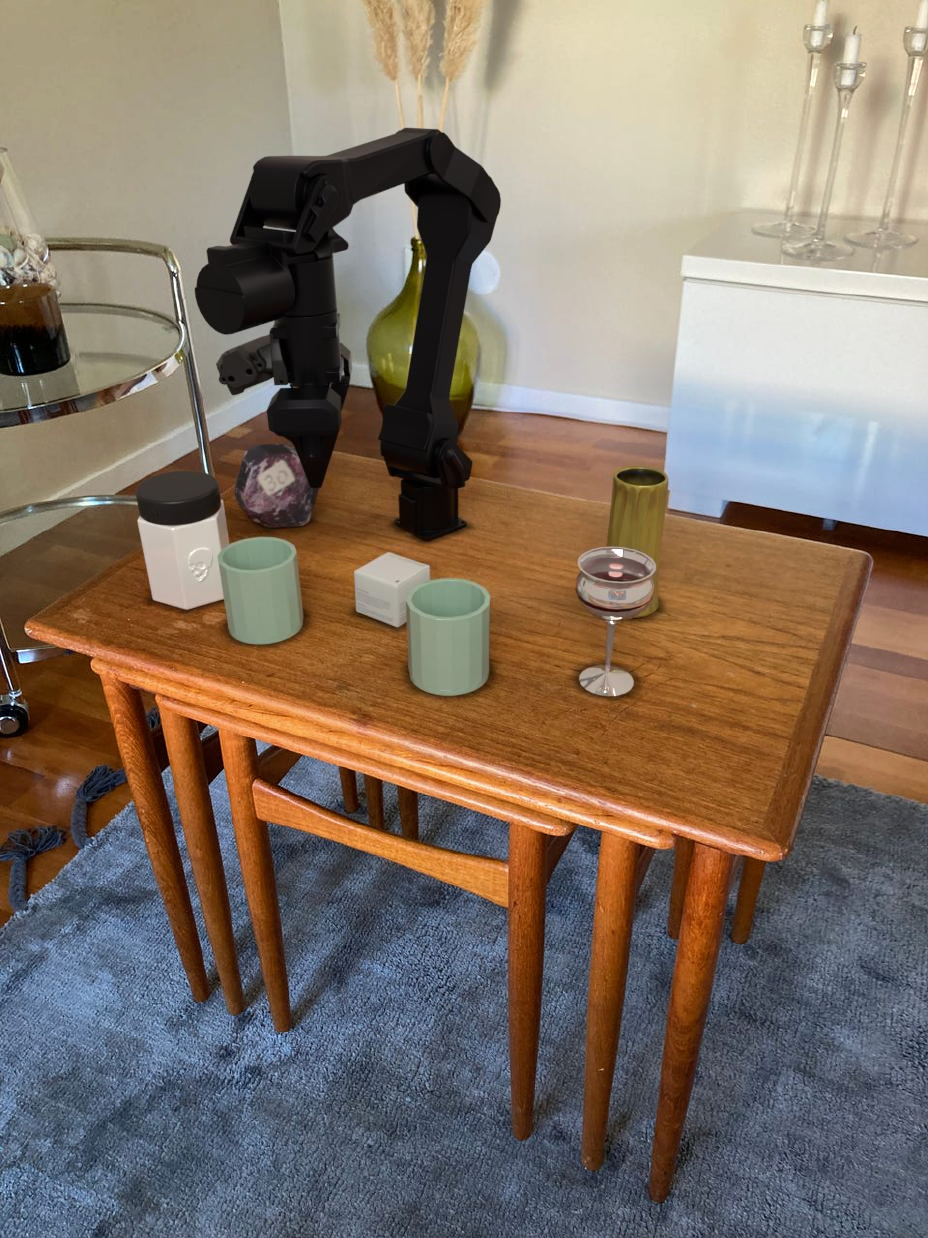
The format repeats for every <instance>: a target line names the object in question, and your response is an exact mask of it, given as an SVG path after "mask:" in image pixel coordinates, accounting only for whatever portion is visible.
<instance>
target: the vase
mask: <svg viewBox="0 0 928 1238" xmlns="http://www.w3.org/2000/svg"><path fill="white" fill-rule="evenodd" d="M612 476H613V478H612V490H611V501H610V510H609V511H610V512H609V520H608V521H609V523H608V529H607V536H606V537H607V538H606V547H625V548H629V549H634V550H637V551H639V552H642V553H644V554H646V555H648V556H649V557H650V558H652V559H653V561H654V562H655V564H656V571H655V573H654V574H653V575H652V577H653V579H654V594H653V597H652V600H651V601H650V603H649V605H648V606H647V607H646V609H645V610H644V611H642V612H641V613H639V614H638V615H636V616H634V617H633V618H632V619H638V618H644V617H647V616H649V615H651V614H653V613H655V612H656V611H657V610H658V607H659V581H660V579H659V578H660V563H661V562H660V561H661V550H662V542H663V541H662V540H663V532H664V524H665V515H666V508H667V499H668V493H669V492H668V491H669V476H668V474H667V473H666V472H665V471H663V470H661V469H658V468H655V467H651V466H645V465H633V466H625V467H623V468H622V467H621V468H619V469H617V470H615V472H614V473H613V475H612Z"/></svg>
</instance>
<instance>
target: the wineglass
mask: <svg viewBox="0 0 928 1238" xmlns="http://www.w3.org/2000/svg"><path fill="white" fill-rule="evenodd" d="M577 566H578V568H579V571H578V572H577V576H576V580H575V583H574V584H575V589H574V590H575V591H574V592H575V593H576V596H577V598H578V600H579V603H580V605H581V606H582V607H583V608H584V609H585V610H586V611H588V612H589V613H590V614H591V615H592V616H594V617H595V618H597V619H599V620H602V621H604V623H606V640H605V662H604V663H605V664H600V665H593V666H589V667H587V668H585V669H584V670H583V671H581V673H580V674H579V678H578V681H579V683H580V685H581V687H582V688H584V689H585V690H586V691H587V692H589V693H591V694H595V695H597V696H602V697H618V696H621V695H625V694H626V693H628V692H630V691H631V690H632V688H634V685H635V684H634V683H635V681H634V678H633V676H632V674H630V673H629V672H628V671H626V670H624V669H623V668H621V667H618V666H614V665H611V662H612V655H613V648H614V641H615V634H616V626H617V624H619V623H620V622H625V621H629V620H632V619H634V618H633V617H634V616H636V615H638V614H639V613H641V612H642V611H644V610H645V609H646V607H647V606H648V605H649V603H650V601H651V600H652V597H653V594H654V579H653V577H652V575H653V574H654V573H655V571H656V564H655V562H654V561H653V559H652V558H650V557H649V556H648V555H646V554H644V553H642V552H639V551H637V550H634V549H629V548H625V547H607V546H600V547H596V548H592V549H589V550H587V551H585V552H583V553H582V554H581V555H580V556H579V557H578V560H577Z"/></svg>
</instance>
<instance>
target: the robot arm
mask: <svg viewBox="0 0 928 1238" xmlns="http://www.w3.org/2000/svg"><path fill="white" fill-rule="evenodd" d="M252 171H253V172H252V174H251V176H250V180H249V183H248V186H247V189H246V191H245V195H244V197H243V200H242V203H241V206H240V208H239V211H238V214H237V217H236V220H235V222H234V226H233V229H232V231H231V234H230V237H229V243H230V244H231V245H226V246H223V245H215V246H211V247H207V249H206V257H207V263H206V264H205V265H204V266H203V267H201V269H200V271H199V272H198V275H197V278H196V286H195V287H194V298H195V301H196V305H197V308H198V310H199V312H200V314H201V316H202V318H203V319H204V320H205V322H206V323H207V324H208V326H209V327H210V328H211V329H213V330H214V331H215V332H217V333H219V334H221V335H226V336H227V335H234V334H237V333H240V332H243V331H246V330H249V329H253V328H257V327H259V326H262V325H265V324H268V323H272V322H273V325H272V327H270V329H269V334H267V335H262V336H260V337H257V338H255V339H251V340H250V341H247V342H244V343H242V344H240V345H237V346H234V347H232V348H230V349H227V350H226V351H224V352H223V353H222V354H221V355H220V357H219V358H218V360H217V362H216V363H215V365H216V370H217V372H218V374H219V377H218V382H219V383H220V384H221V385H223V386H226V388H227V389H228V391H229V392H230V395H231V396H236V395H240V394H242V393H244V392H245V390H246V389H247V390H248V389H249V388H252V387H254V386H257V385H261V384H262V383H264V382H267V381H269V380H271V379H273V386H287V385H289V387H280V388H279V389H278V390H277V391H276V393H274V395H272V397H271V399H270V400H269V403H268V406H267V408H266V418H267V425H268V431H269V432H272V433H274V434H275V435H276V436H277V437H283V438H285V439H286V440H287V441H289V442H290V443H291V444H292V446H293V448H295V450H296V452H297V455H298V457H299V460H300V462H301V465H302V468H303V470H304V473H305V475H306V478H307V480H308V483H309V486H310V487H311V488H319V489H322V487H323V484H324V481H325V478H326V475H327V472H328V469H329V465H330V463H331V459H332V455H333V452H334V449H335V446H336V443H337V440H338V437H339V434H340V430H341V425H342V411H343V407H344V404H345V402H346V399H347V394H348V391H349V388H350V383H351V377H352V371H353V364H352V351H351V350H350V349H349V348H348V347H347V346H346V345H344V343H342V342H341V341H340V328H341V325H342V323H341V313H339V312H338V303H337V302H338V301H337V290H336V289H337V288H336V275H335V263H334V254H337V253H340V252H344V251H347V250H348V249H349V242H348V241H347V240H346V239H345V238H343V236H341V235H340V234H339V233H337V232H336V230H335V229H334V228H335V227H336V226H337V225H339V224H340V223H342V222H343V221H345V220H346V219H348V217H350V215H351V213H352V211H353V207H354V205H356V204H357V203H359V202H360V201H362V200H364V199H368V198H370V197H373V196H375V195H377V194H380V193H383V192H385V191H388V190H390V189H394V188H396V187H399V186H401V185H403V186H404V193H405V194H406V196H407V197H408V198H409V199H410V200H411V201H412V203H413V204H414V205H415V207H416V208H417V216H416V217H417V218H416V228H417V232H418V235H419V237H420V240H421V243H422V246H423V249H424V252H425V255H426V257H425V264H424V265H425V266H424V270H423V277H422V284H421V290H420V295H419V302H418V309H417V315H416V321H415V328H414V335H413V341H412V347H411V352H410V358H409V359H410V360H409V366H408V372H407V377H406V384H405V389H404V392H402V394H401V396H400V397H399V398H398V399H397V400H396V401H395V403H394V404H392V403H386V404H385V406H384V408H383V410H382V422H381V427H380V432H379V434H378V437H377V440H378V441H380V443H379V445H380V446H379V448H380V449H379V452H380V455H381V457H383V461H384V462H385V466H386V470H387V472H388V475H389V477H392V478H398V479H400V493H399V494H398V516H399V517H398V518H395V519H394V521H393V522H394V525H396V526H397V527H400V528H401V529H402V530H404V531H406V532H408V533H410V534H412V535H413V536H416V537H417V538H419V539H421V540H422V541H425V542H428V541H431V540H435V539H437V538H440V537H443V536H444V535H447V534H450V533H453V532H456V531H458V530H461V529H464V528H466V527H467V526H468V522H467V521H466V520H464V519H462V518H460V517H459V489H463V488H465V487H466V482H468V481H469V480H470V479H471V474H472V470H473V460H472V459H471V458H470V457H469V456H468V454H467V453H466V452H465V451H464V450H463V449H462V447H460V446H459V445H458V437H459V422H458V420H457V417H456V414H455V411H454V409H453V405H452V402H451V400H450V396H451V395H450V394H451V389H452V382H453V378H454V372H455V366H456V360H457V354H458V349H459V342H460V336H461V330H462V324H463V319H464V314H465V307H466V301H467V296H468V289H469V283H470V280H471V279H470V278H471V272H472V269H473V268H472V267H473V264H474V263H475V262H476V260H477V259H478V258H479V257H480V255H481V254H482V253H483V251H484V250H485V249H486V248H487V246H488V245H489V244H490V242H491V241H492V237H493V235H494V230H495V226H496V223H497V219H498V216H499V215H500V210H501V204H502V198H501V193H500V191H499V188H498V187H497V185H496V184H495V182H494V180H493V178H492V177H491V176H490V175H489V173H488V172H487V170H486V169H485V168H484V167H483V165H482V164H480V163H479V162H478V161H476V160H474V159H473V158H471V156H469V155H467V154H466V153H465V152H463V151H462V150H461V149H459V148H458V147H456V146H455V144H454V143H453V141H452V140H451V139H450V137H449V136H448V134H446V133H445V132H443V131H441V130H440V129H439V128H425V127H424V128H422V127H403V128H402V129H399V130H398V131H396V132H395V133H393V134H390V135H387V136H384V137H380V138H377V139H373V140H371V141H367V142H365V143H364V142H363V143H362V144H358V145H355V146H351V147H350V148H346V149H343V150H340V151H336V152H334V153H331V154H327V155H266V156H263V157H262V158H259V159H258V160H257V161H256V162H255V163H254V165H253V166H252Z"/></svg>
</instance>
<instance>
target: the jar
mask: <svg viewBox="0 0 928 1238" xmlns="http://www.w3.org/2000/svg"><path fill="white" fill-rule="evenodd" d="M134 493H135V497H136V503H137V507H138V508H137V509H138V514H139V516H138V519H137V526H138V527H137V528H138V532H139V535H140V542H141V548H142V552H143V557H144V562H145V567H146V572H147V573H146V574H147V577H148V583H149V589H150V593H151V598H152V600H153V601H154V602H156V603H157V602H158V603H161V604H164V605H168V606H171V607H175V608H178V609H181V610H186V611H189V610H191V609H195V608H199V607H202V606H206V605H209V604H212V603H216V602H219V601H222V600H223V601H224V598H223V591H222V584H221V578H220V571H219V565H218V558H217V556H218V554H219V553H220V551H221V550H222V549H223V548H225V547H226V546H228V545H229V544H230V538H229V530H228V524H227V518H226V509H225V504H224V502H225V501H224V500H223V499H222V497H221V492H220V486H219V480H218V479H217V477H215V476H213V475H212V474H210V473H207V472H204V471H197V470H175V471H167V472H164V473H159V474H156V475H153V476H150V477H148V478H146V479H145V480H142V481H141V482H140V483H138V484H137V486H136V488H135V492H134Z"/></svg>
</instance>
